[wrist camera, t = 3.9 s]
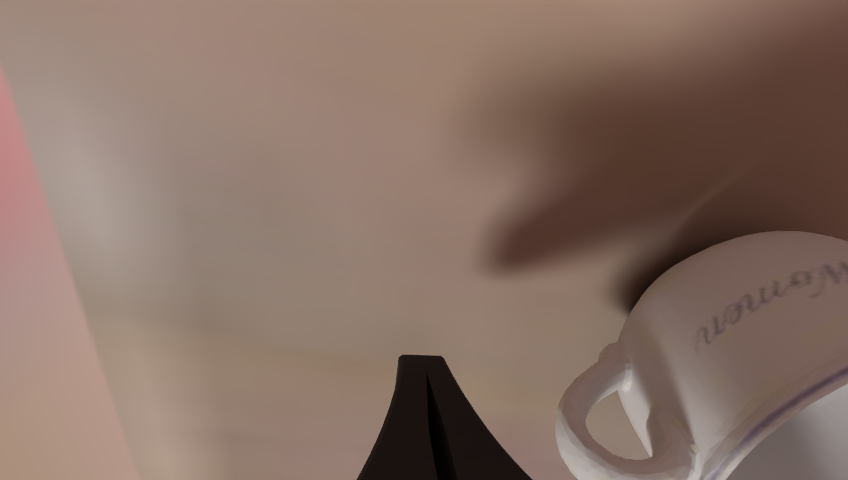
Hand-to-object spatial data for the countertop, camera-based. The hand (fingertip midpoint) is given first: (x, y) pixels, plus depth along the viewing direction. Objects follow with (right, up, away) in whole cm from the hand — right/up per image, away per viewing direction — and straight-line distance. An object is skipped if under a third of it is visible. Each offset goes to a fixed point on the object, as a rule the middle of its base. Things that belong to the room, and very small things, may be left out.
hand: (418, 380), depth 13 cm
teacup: (+11, +1, +6) cm, 12 cm away
